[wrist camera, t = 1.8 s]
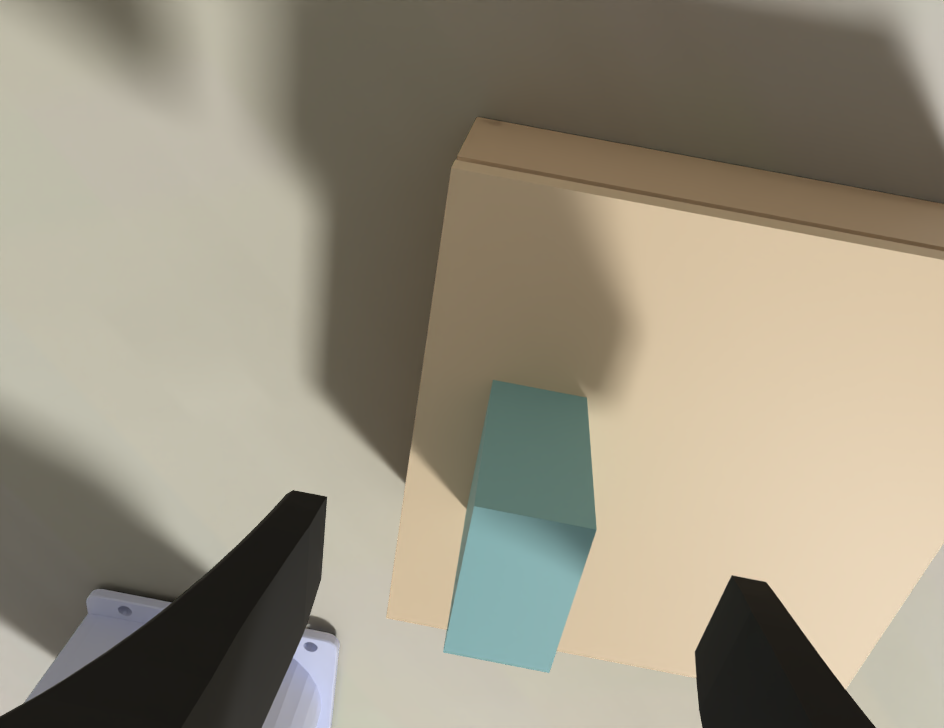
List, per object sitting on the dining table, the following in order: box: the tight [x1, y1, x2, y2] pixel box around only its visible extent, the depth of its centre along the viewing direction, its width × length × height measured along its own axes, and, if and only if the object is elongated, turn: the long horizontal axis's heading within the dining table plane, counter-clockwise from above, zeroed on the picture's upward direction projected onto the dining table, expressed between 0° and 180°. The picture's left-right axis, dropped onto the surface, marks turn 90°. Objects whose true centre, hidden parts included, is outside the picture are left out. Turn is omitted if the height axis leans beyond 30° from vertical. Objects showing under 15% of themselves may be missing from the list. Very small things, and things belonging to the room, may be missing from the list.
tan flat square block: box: [386, 160, 944, 689], centre depth 14 cm, size 12×12×5 cm
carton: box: [457, 117, 944, 251], centre depth 18 cm, size 12×12×4 cm
